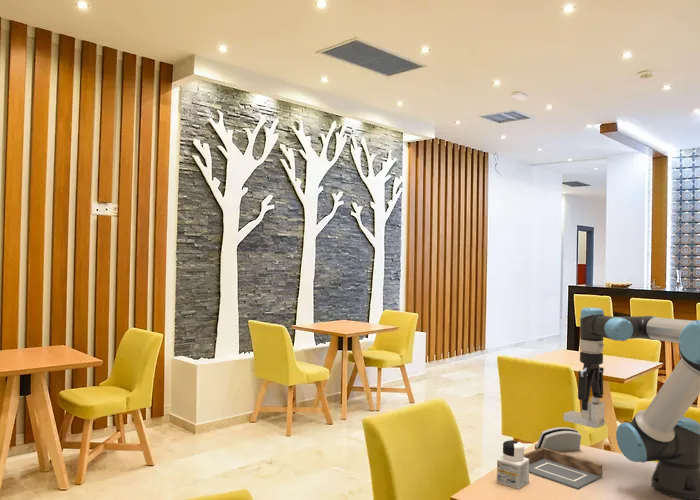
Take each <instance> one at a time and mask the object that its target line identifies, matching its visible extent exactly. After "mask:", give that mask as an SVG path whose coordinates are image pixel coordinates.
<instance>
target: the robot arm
mask: <svg viewBox="0 0 700 500" xmlns="http://www.w3.org/2000/svg"><path fill="white" fill-rule="evenodd" d="M579 322H580V325H579V327H580V330H579V333H580V335H579V336H580V339H579V341H580V342H579V350H580V352H579V362H580V363H582V364H583V367H582V370H578V389H577V390H578V391H577V398H578V400H580V401H581V413H582V419H586V420H590V403H591V402H594V401H600V399H603V397H604V396H603V395H604V367H601V366H600V365H602V364H604V353H602V352H603V351H604V347H605V344H604V339H609V340H613V341H618V342H619V341H621V342H625V341H628V340H633V339H645V340H653V341H661V342H669V343H675V344H678V347H679V353H678V354H679V356H680V360H679V361H678V362H677V365H676V366H675V367H674V369H673V370H672V372H671V373H670V374H669V376H668V377H667V379H666V380H665V381H664V383H663V385H662V386H661V387H660V389H659V390H658V391H657V393H656V394H655V396H654V397H653V399H652V401H651V402H650V403H649V405H648V406H647V407H646V409H642V410H639V411H637V412H636V414H635V415H634V416H633V418H632V420H631V421H630V422H626V421H625V422H623V423H620V424H618V426H617V428H616V431H615V432H616V433H615V438H616V443H617V446H618V448H619V450H620V453H622V455H623V457H625V458H626V459H627V460H629V461H631V462H633V463H647V462H655V461H657V464H656V466H655V469H654V471H653V473H652V476H651V486H652V488H653V489H654V490H655V491H657V492H660V493H662V494H664V495H666V496H670V497H674V498H678V499H683V500H700V423H699V422H698V421H697V420H695V419H692V418H690V417H687V416H684V415H685V414H686V413H687V412H688V411H689V409H690V407H692V405H693V403H694V402H695V401H696V400H697V398H698V396H699V395H700V319H699V320H691V319H690V320H689V319H680V318H678V319H677V318H670V317H669V318H665V317H657V316H652V315H644V316H643V315H642V316H639V315H638V316H637V315H636V316H611V315H610V316H609V315H605V312H604V309H603V308H599V307H583V308H581V310H580V318H579ZM591 392H592V393H591ZM591 394H592V396H591V398H590V395H591ZM600 402H601V401H600Z"/></svg>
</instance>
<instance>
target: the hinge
mask: <svg viewBox="0 0 700 500" xmlns="http://www.w3.org/2000/svg"><path fill="white" fill-rule="evenodd" d="M581 438H582V436H581V434H580V432H578V430H577V429H575V428H572V427H564V426H561V427H553V428H549V429H546V430H542V431H541V433H540V435H539V439H538V440H537V443H535V444H534V448H533V449H535V450H537V449H540V448H542V447H543V448H546V449H550V450H553V451H557V452H570V451H571V452H572V451H580V450H581V449H580V448H581V441H582V439H581Z"/></svg>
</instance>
